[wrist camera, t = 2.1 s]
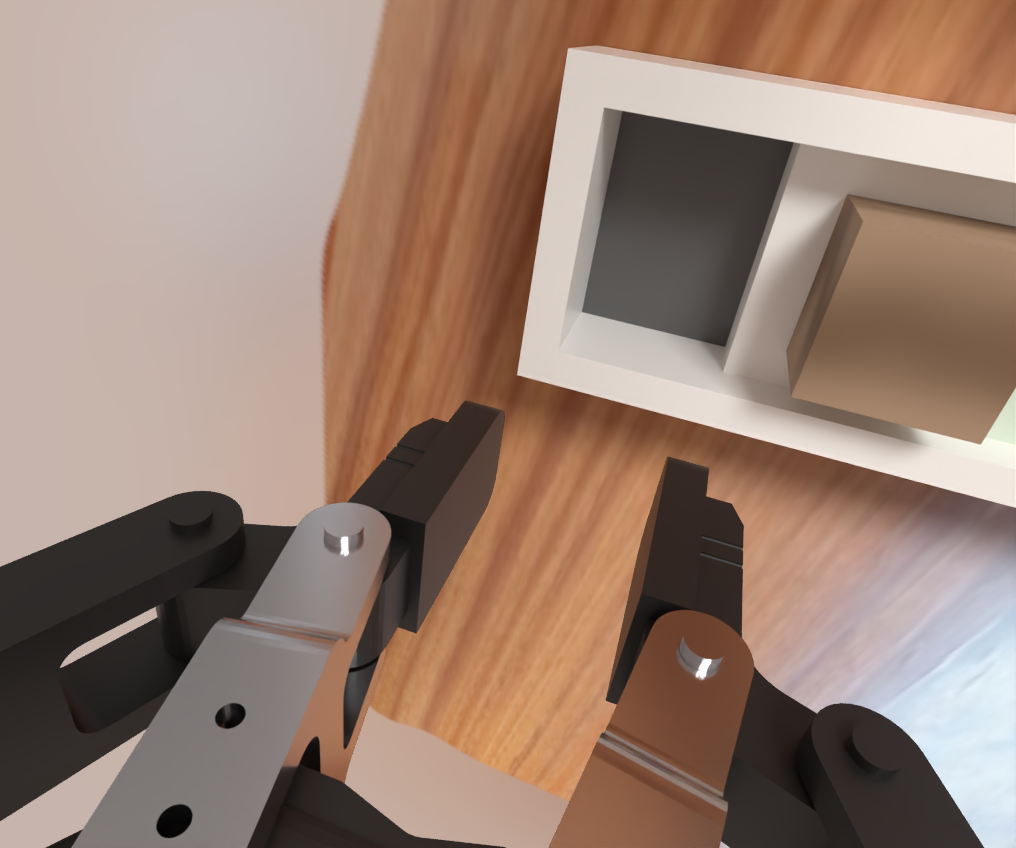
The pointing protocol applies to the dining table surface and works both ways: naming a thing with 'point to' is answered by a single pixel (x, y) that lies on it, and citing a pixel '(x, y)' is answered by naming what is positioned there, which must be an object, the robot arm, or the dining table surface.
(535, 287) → the tray
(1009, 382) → the walnut block
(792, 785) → the robot arm
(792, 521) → the dining table surface
